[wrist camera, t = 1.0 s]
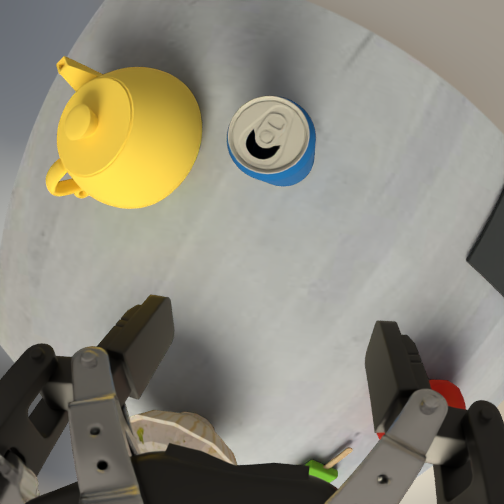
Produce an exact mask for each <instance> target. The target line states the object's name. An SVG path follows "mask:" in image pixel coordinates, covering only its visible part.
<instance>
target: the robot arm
mask: <svg viewBox="0 0 504 504" xmlns="http://www.w3.org/2000/svg"><path fill="white" fill-rule="evenodd" d="M173 337H174V323H173V315H172V307H171V301H170V298H169V297H163V296H157V295H150V296H149V297H148V298H147V299H146V300H145V301H144V303H143V304H142V305H136V306H134V307H133V308H131V309H129V310H128V311H127V312H126V313H125V314H124V315H123V316H122V318H121V320H119V321H118V322H117V323H116V326H114V327H113V328H112V329H111V330H110V331H109V333H108V334H107V335H106V336H105V337H104V339H103V340H102V341H101V342H100V343H99V344H98V346H97V347H95V346H90V347H85V348H82V349H80V350H79V351H77V352H76V353H75V354H74V355H73V357H64V356H56V355H55V352H54V350H53V348H52V347H51V346H50V345H48V344H36V345H33V346H31V347H30V348H28V349H27V350H26V351H25V352H24V353H23V354H22V355H21V356H20V358H19V359H18V360H17V361H16V362H15V363H14V365H13V366H12V367H11V368H10V369H9V370H8V371H7V372H6V374H5V375H4V376H3V377H2V378H1V380H0V504H399V503H400V501H401V500H402V498H403V497H404V495H405V494H406V492H407V491H408V489H409V488H410V486H411V485H412V483H413V481H414V480H415V478H416V477H417V475H418V473H419V472H420V470H421V468H422V467H423V465H424V463H431V464H433V468H434V477H435V486H436V496H437V504H504V422H503V420H502V417H501V414H500V412H499V410H498V409H497V407H496V406H495V405H493V404H492V403H490V402H488V401H484V400H480V401H476V402H474V403H473V404H472V405H471V406H470V408H469V409H468V410H465V409H460V408H455V407H451V406H448V404H447V401H446V399H445V398H444V397H443V396H442V395H441V394H440V393H438V392H437V391H434V390H432V388H431V386H430V383H429V380H428V377H427V374H426V371H425V369H424V366H423V363H421V361H422V360H421V358H420V355H419V352H418V350H417V347H416V345H415V343H414V342H413V341H412V340H411V339H410V338H409V337H408V335H401V333H400V330H399V327H398V324H397V322H395V321H377V322H376V323H375V326H374V329H373V333H372V336H371V339H370V342H369V345H368V348H367V352H366V357H365V368H366V374H367V381H368V387H369V393H370V400H371V407H372V415H373V423H374V431H375V433H385V434H384V435H383V436H382V437H381V439H380V440H379V441H378V443H377V444H376V445H375V447H374V448H373V449H372V450H371V452H370V453H369V454H368V455H367V457H366V458H365V459H364V460H363V461H362V463H361V464H360V465H359V466H358V467H357V469H356V470H355V471H354V472H353V473H352V474H351V476H350V477H349V478H348V479H347V480H346V481H345V482H344V483H343V484H342V486H341V487H340V488H339V489H337V488H336V487H335V486H333V485H332V484H330V483H329V482H327V481H325V480H323V479H321V478H318V477H316V476H312V475H309V466H306V465H292V464H281V463H266V464H253V465H233V464H231V463H228V462H226V461H223V460H221V459H219V458H216V457H214V456H212V455H210V454H208V453H205V452H203V451H200V450H196V449H192V448H188V447H184V446H180V445H176V444H172V443H169V444H168V446H167V449H166V451H152V452H145V453H141V451H140V449H139V447H138V444H137V441H136V438H135V435H134V431H133V428H132V425H131V421H130V418H129V414H128V410H127V407H126V404H125V401H126V400H127V398H128V396H129V397H132V398H135V399H138V400H139V399H140V397H141V395H142V393H143V392H144V390H145V388H146V386H147V385H148V383H149V381H150V379H151V378H152V376H153V374H154V372H155V371H156V369H157V367H158V366H159V364H160V362H161V360H162V359H163V357H164V355H165V354H166V352H167V350H168V348H169V347H170V345H171V343H172V341H173ZM39 393H40V394H41V396H42V399H41V400H40V402H39V403H38V404H37V406H36V407H35V409H34V410H33V412H32V413H31V415H30V416H29V417H28V409H29V406H30V405H31V403H32V402H33V401H34V399H35V398H36V396H37V395H38V394H39ZM68 422H69V428H70V435H71V444H72V451H73V458H74V464H75V470H76V474H77V480H78V481H77V482H75V483H72V484H70V485H67V486H65V487H62V488H60V489H57V490H55V491H52V492H49V493H46V494H43V495H41V496H40V492H39V490H38V480H37V475H38V473H39V472H40V470H41V468H42V466H43V464H44V463H45V461H46V459H47V457H48V456H49V454H50V452H51V450H52V449H53V447H54V445H55V444H56V442H57V440H58V438H59V437H60V435H61V433H62V432H63V430H64V428H65V427H66V425H67V423H68Z"/></svg>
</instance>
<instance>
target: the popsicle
mask: <svg viewBox="0 0 504 504" xmlns="http://www.w3.org/2000/svg"><path fill="white" fill-rule="evenodd" d="M351 452H352V448H350V447H349V448H347V449H345V450H344V451H343V452H341V453H340V454H339V455H338V456H336V457H335V458H334V459H332V460H331V461H330V462H328V463H327V464H326V465H323V464H321V463H319V462H316V461H314V460H310V461H309V462H308V463H306V464H305V465H306V466H309V475H312V476H316V477H318V478H321V479H323V480H325V481H327V482H329V483H330V482H331V481H333V480H334V479H336V478H337V477H338V471H337V470H335V469H333V468H331V467H332V466H333V465H335V464H336V463H338V462H339V461H340V460H342V459H343V458H344V457H345V456H347V455H348V454H349V453H351Z"/></svg>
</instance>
